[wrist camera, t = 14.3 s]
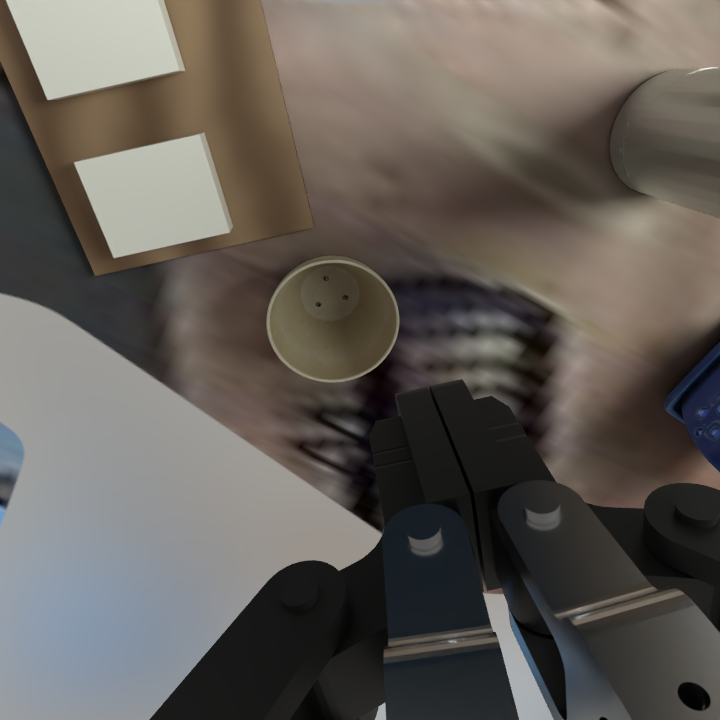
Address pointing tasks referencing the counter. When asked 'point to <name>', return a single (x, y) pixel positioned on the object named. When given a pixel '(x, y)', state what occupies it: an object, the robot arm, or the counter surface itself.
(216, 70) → the board
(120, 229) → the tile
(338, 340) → the flower pot
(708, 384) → the flower pot
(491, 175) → the counter surface
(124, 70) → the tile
